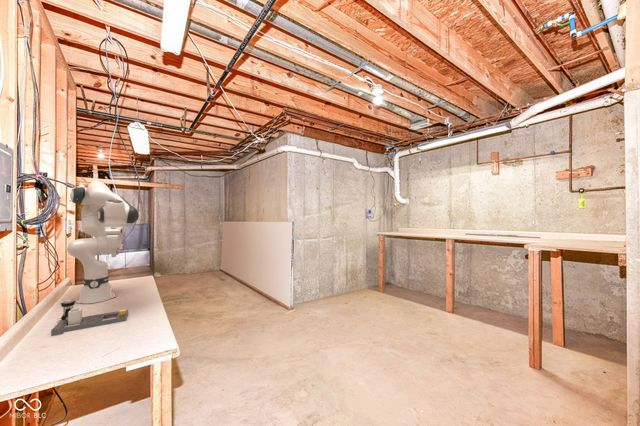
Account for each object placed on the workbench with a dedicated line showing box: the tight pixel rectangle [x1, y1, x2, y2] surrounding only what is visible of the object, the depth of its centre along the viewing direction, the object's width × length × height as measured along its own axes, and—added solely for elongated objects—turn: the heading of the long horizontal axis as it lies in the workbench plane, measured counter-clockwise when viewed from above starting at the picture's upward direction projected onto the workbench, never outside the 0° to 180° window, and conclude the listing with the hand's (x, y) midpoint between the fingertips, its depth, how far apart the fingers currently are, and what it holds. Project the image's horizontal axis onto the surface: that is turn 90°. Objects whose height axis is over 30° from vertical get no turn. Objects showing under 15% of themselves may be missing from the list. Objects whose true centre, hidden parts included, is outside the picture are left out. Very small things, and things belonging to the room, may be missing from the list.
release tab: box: [118, 309, 127, 315], centre depth 130 cm, size 2×2×4 cm
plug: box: [68, 307, 83, 325], centre depth 121 cm, size 4×4×9 cm
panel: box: [50, 309, 129, 337], centre depth 124 cm, size 12×26×3 cm, turn 121°
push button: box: [57, 298, 77, 322], centre depth 130 cm, size 7×5×10 cm
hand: (115, 255), depth 138 cm, fingers open, 8 cm apart
